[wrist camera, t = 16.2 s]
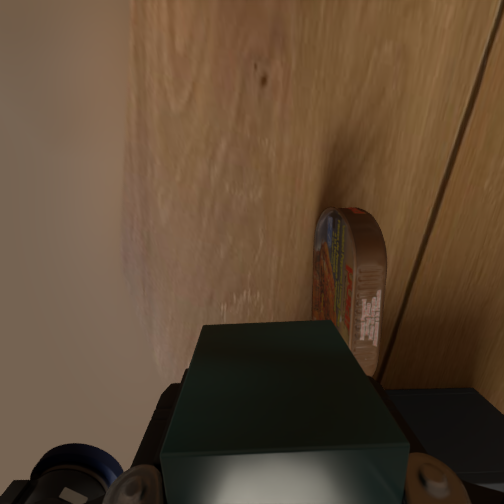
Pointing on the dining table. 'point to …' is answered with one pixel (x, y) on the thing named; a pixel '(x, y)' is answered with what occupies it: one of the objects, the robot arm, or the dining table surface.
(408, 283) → the dining table surface
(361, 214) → the tin
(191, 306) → the dining table surface
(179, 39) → the dining table surface
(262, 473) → the block
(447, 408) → the cabinet
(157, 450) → the robot arm
